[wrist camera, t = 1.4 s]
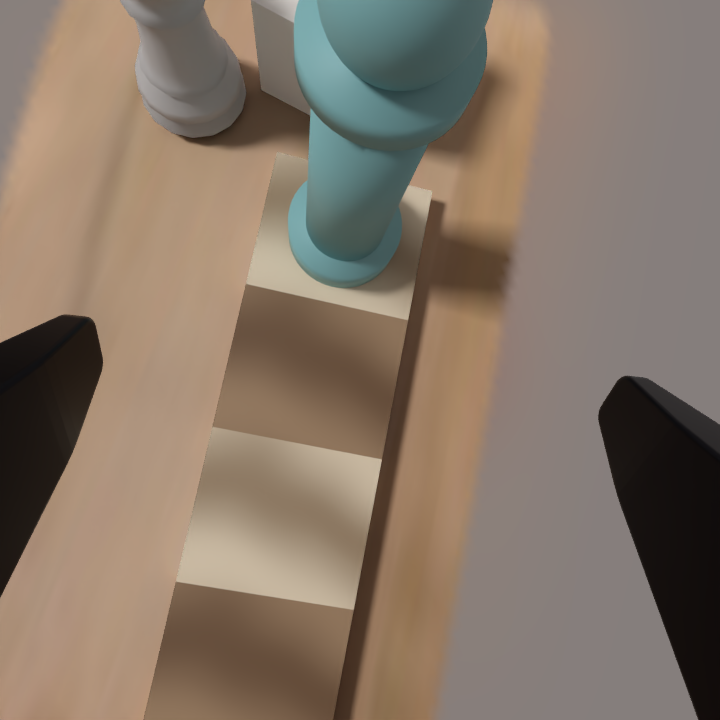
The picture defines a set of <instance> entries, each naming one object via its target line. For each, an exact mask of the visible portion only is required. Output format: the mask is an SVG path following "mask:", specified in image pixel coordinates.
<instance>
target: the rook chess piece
mask: <svg viewBox="0 0 720 720" xmlns="http://www.w3.org/2000/svg"><path fill="white" fill-rule="evenodd" d="M120 1H121V3H122V5H123V6H124V8H125V9H126V11H127V12H128V13H129V15H130V16H131V17H133V18H134V19H135V21H136V24H137V27H138V32H139V36H140V40H141V43H140V46H139V50H138V56H137V60H136V63H135V73H136V78H137V84H138V89H139V92H140V93H141V95H142V98H143V103H144V106H145V107H146V109H147V110H148V112H149V113H150V115H151V116H152V118H153V119H154V121H155V122H157V123H158V124H160V125H161V126H163V127H164V128H166V129H167V130H169V131H170V132H172V133H174V134H179V135H183V136H187V137H191V138H196V137H204V136H212V135H215V134H217V133H219V132H220V131H222V130H224V129H226V128H228V127H229V126H231V125H232V124H233V122H234V121H235V120H236V118H237V117H238V116H239V114H240V113H241V112H242V110H243V106H244V101H245V97H246V88H245V83H244V78H243V74H242V73H241V69H240V64H239V60H238V59H237V57H236V55H235V54H234V52H233V51H232V50H231V48H230V47H229V45H228V44H227V42H226V41H225V39H223V38H222V37H220V36H219V34H218V33H217V32H216V30H214V29H213V28H212V27H211V24H210V22H209V19H208V17H207V14H206V12H205V9H204V7H203V6H204V2H205V0H120Z"/></svg>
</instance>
